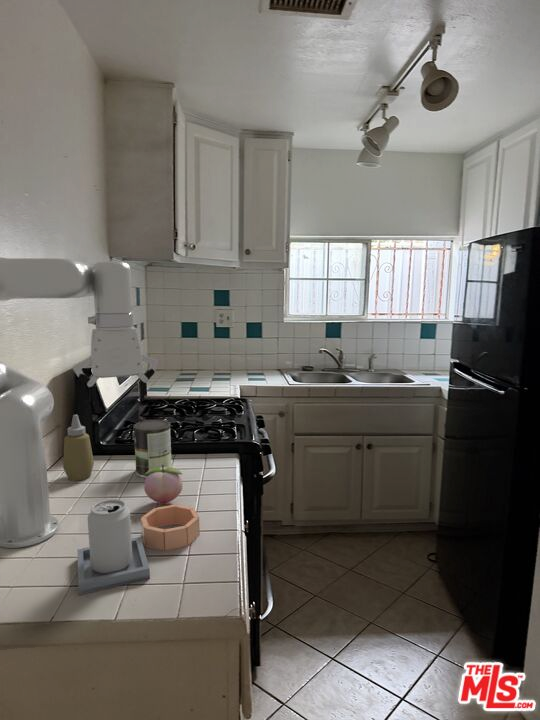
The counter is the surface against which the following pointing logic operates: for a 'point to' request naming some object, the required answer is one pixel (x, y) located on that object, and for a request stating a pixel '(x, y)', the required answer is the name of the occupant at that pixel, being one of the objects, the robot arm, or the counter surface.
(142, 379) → the robot arm
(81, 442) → the squeeze bottle
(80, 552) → the slate tray
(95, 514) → the can
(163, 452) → the coffee can
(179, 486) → the decorative fruit
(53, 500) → the counter surface
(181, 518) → the terracotta ring
